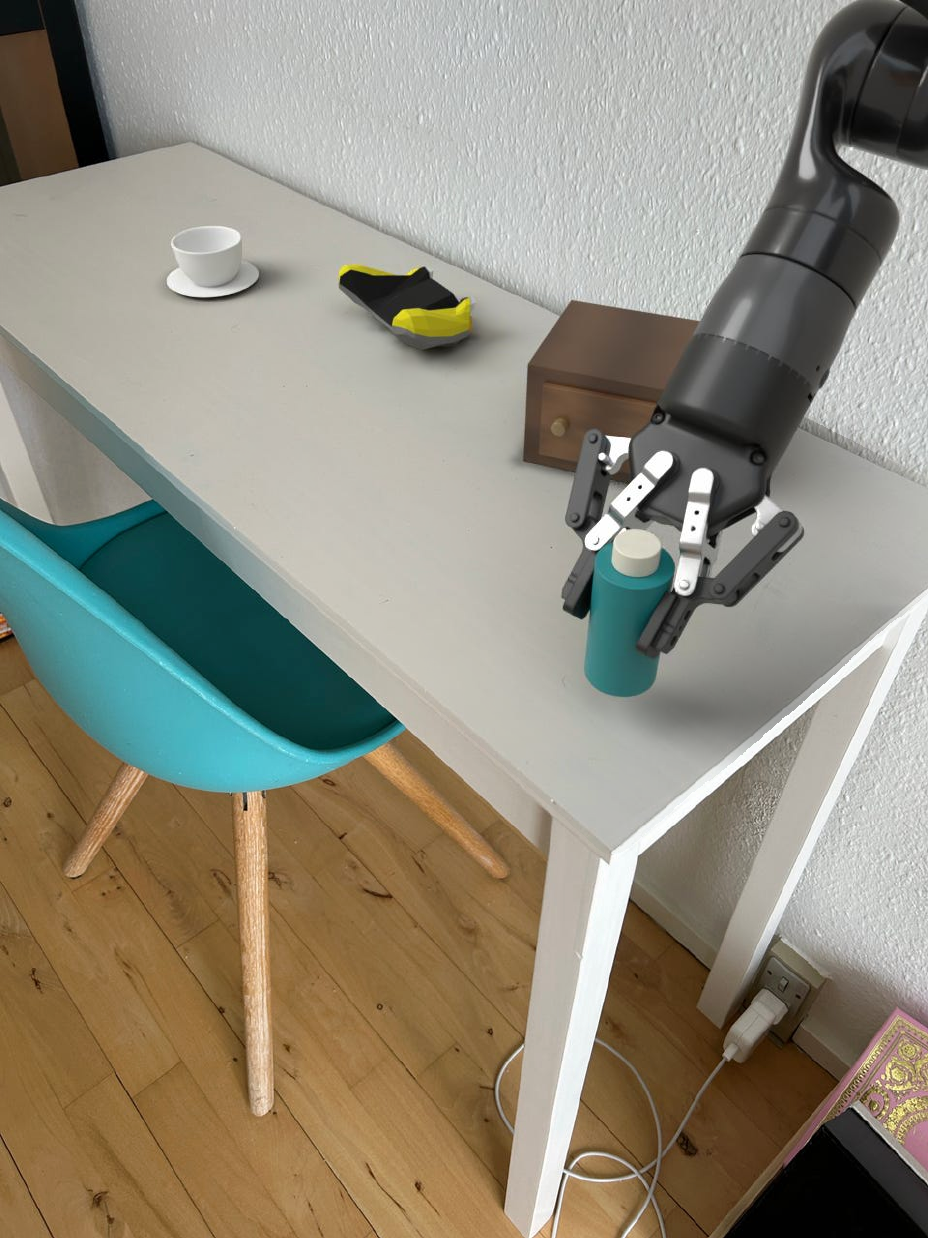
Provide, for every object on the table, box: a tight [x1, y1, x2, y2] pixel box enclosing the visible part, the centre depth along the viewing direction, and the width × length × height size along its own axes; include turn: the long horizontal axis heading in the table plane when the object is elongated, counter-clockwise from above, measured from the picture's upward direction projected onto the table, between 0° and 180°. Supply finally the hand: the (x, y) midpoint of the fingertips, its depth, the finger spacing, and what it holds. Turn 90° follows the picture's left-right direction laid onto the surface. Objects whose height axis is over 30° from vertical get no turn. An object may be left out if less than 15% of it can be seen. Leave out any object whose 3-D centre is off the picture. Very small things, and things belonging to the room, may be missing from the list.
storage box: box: [522, 299, 700, 484], centre depth 81 cm, size 14×13×9 cm
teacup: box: [166, 225, 260, 298], centre depth 106 cm, size 10×10×5 cm
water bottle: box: [583, 529, 676, 698], centre depth 56 cm, size 4×4×10 cm
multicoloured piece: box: [337, 263, 476, 350], centre depth 97 cm, size 15×6×10 cm
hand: (609, 633), depth 56 cm, fingers closed on water bottle, 4 cm apart
